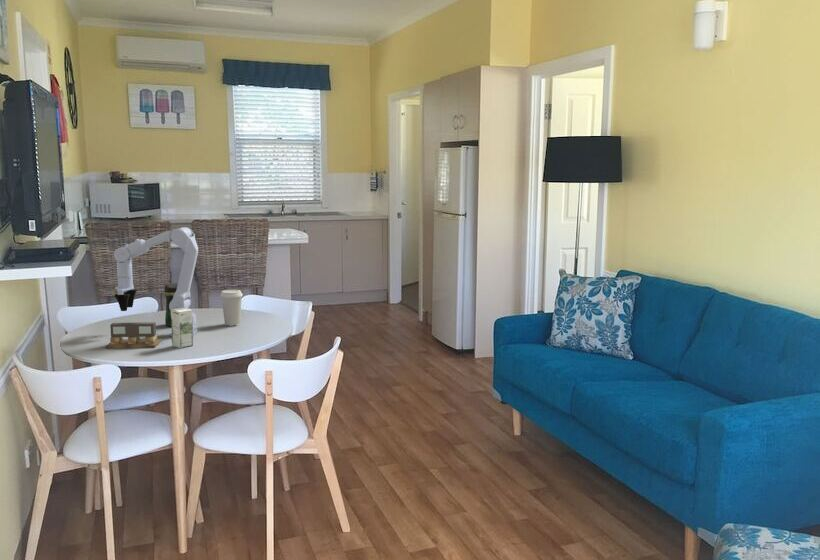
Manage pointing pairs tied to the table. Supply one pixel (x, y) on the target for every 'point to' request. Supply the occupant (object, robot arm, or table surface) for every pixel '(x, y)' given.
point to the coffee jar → (169, 300)
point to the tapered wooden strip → (133, 329)
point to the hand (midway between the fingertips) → (126, 309)
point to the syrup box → (182, 327)
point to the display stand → (133, 342)
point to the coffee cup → (231, 306)
